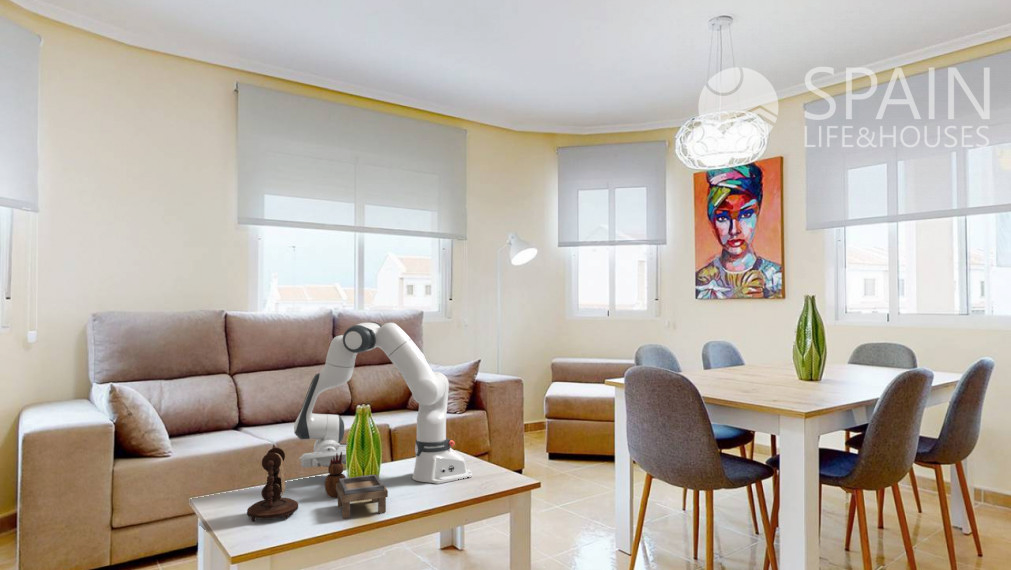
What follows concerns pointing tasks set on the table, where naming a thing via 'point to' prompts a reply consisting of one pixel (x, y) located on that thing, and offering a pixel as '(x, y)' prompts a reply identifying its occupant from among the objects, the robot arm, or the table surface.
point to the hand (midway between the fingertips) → (332, 463)
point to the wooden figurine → (334, 476)
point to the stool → (361, 492)
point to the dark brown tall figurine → (273, 490)
